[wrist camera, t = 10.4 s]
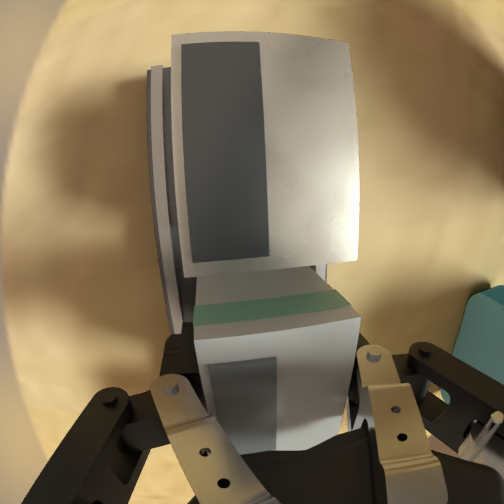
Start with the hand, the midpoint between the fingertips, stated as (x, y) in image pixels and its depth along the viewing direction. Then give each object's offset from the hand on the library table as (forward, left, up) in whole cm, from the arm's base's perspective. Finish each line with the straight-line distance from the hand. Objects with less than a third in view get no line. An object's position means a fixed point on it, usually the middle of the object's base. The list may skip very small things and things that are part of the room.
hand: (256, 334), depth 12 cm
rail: (0, 0, -3) cm, 3 cm away
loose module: (0, 0, -1) cm, 1 cm away
